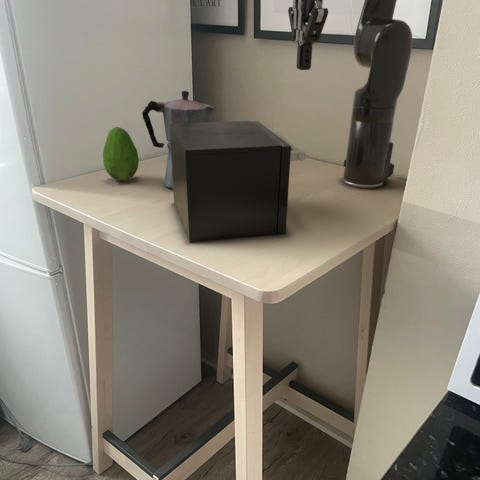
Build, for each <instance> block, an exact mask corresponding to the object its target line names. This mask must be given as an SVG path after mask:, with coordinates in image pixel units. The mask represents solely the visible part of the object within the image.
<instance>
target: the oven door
mask: <svg viewBox="0 0 480 480" xmlns="http://www.w3.org/2000/svg"><path fill="white" fill-rule="evenodd" d="M251 122H252V123H253V124H255V125H256V126H257V127H258V128H260V129H261V130H262V131H263V132H265V133H266V134H267V135H268V136H270V137H271V138H272V139H273V140H275V141H276V142H277V143H278V144H280V145H281V158H280V175H279V193H278V210H277V227H276V236H278V235H279V236H280V235H286V234H287V218H288V203H289V202H288V201H289V187H290V171H291V162H298V161H301V162H302V161H305V160H306V158H307V153H306V152H304V151H303V150H302V149H300V148H299V147H298V146H296V145H295V144H294V143H292V142H291V141H290V140H288V139H287V138H286V137H285V136H283V135H282V134H280V133H279V132H278V131H277V132H273V131H272V130H270V129H269V128H268V127H267V126H266V125H264V124H263V123H261V122H260V121H258V120H255V121H251Z"/></svg>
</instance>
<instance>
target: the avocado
mask: <svg viewBox="0 0 480 480" xmlns="http://www.w3.org/2000/svg"><path fill="white" fill-rule="evenodd" d="M139 161H140V159H139V152H138V149H137V148H136V145H135V144H134V141H133V140H132V137H131V136H130V134H129V133H128V131H126V129H124V128H122V127H119V126H115V127H113V128H111V129H110V130H109V132H108V134H107V137H106V140H105V144H104V147H103V152H102V163H103V166H104V169H105V171H106V173H107V174H108V175H109V176H110V177H111V178H112V179H114V180H115V181H118V182H125V181H129V180H130V179H132V178H133V177H134V176H135V175H136V173H137V170H138V168H139Z"/></svg>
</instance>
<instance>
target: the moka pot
mask: <svg viewBox="0 0 480 480" xmlns="http://www.w3.org/2000/svg"><path fill="white" fill-rule="evenodd" d="M189 95H190V92H189V91H188V90H182V91H181V97H182V98H181V99H176V100H170V101H166V102H164V101H158V102H157V101H155V100H150V101H149V102H148V103H147V105H146V106H145V107H144V109H143V110H142V113H141V115H142V119H143V121H144V123H145V127H146V129H147V131H148V135H149V138H150V140H151V144H152V146H153V147H154V148H159V149H161V148H164V147H165V146H164V145H165V143H164V142H159V141H158V140H157V137H156V135H155V131H154V128H153V123H152V121H151V118H150V116H149V114H150V112H152V111H154V112H157V113H162V116H163V124H164V129H165V130H164V132H165V138H166V141H167V142H168V143H166V146H167V149H168V152H167V157H166V167H165V175H164V181H163V184H164V186H166V187H167V188H169V189H172V190H173V174H172V157H171V140H170V124H177V123H205V122H209V121H210V119H211V116H212V114H213V112H214V111H216V108H214V107H213V106H212V105H211V104H207V103H201V102H198V101H195V100H192V99H189Z"/></svg>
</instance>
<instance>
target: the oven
mask: <svg viewBox="0 0 480 480" xmlns="http://www.w3.org/2000/svg"><path fill="white" fill-rule="evenodd" d="M252 122H253V121H251V120H237V121H236V120H234V121H210V122H209V121H208V122H205V123H177V124H170V140H171V157H172V174H173V189H172V190H173V204H174V207H175V209H176V212H177V215H178V217H179V220H180V223H181V226H182V228H183V230H184V232H185V235H186V238H187V241H188V243H189V244H193V243H204V242H213V241H214V242H215V241H225V240H226V241H227V240H236V239H247V238H248V239H249V238H259V237H271V236H277V233H276V227H277V210H278V193H279V175H280V158H281V145H280V144H278V143H277V142H276V141H275V140H273V139H272V138H271V137H270V136H268V135H267V134H266V133H265V132H263V131H262V130H261V129H260V128H258V127H257V126H256V125H255V124H253V123H252Z"/></svg>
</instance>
